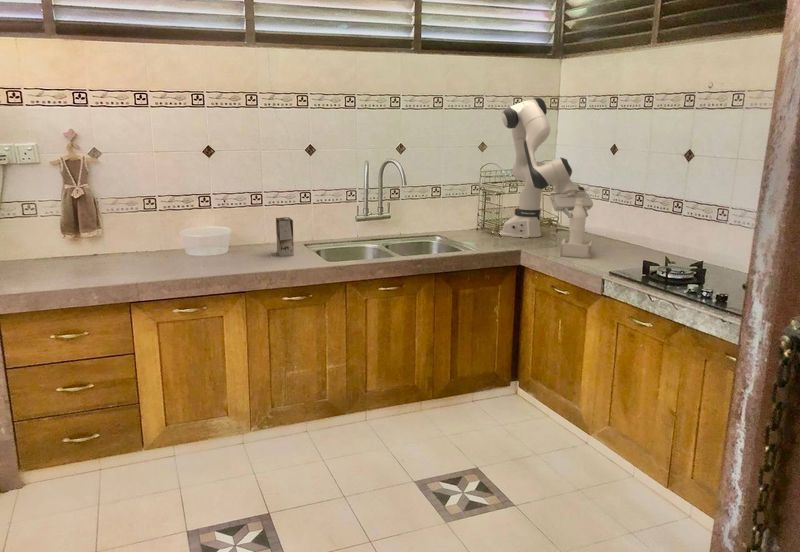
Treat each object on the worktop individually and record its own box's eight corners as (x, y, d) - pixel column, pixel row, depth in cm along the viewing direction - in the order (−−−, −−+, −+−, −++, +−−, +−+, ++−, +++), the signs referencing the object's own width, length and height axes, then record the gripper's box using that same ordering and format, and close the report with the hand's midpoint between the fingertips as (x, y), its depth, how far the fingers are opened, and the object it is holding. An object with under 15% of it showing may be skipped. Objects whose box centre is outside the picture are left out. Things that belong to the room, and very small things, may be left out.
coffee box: (294, 255, 288) (293, 220, 284) (280, 256, 286) (278, 220, 282) (290, 251, 296) (289, 216, 292) (276, 252, 294) (275, 217, 290)
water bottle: (583, 251, 298) (588, 197, 292) (582, 254, 292) (587, 199, 285) (567, 250, 300) (572, 196, 294) (566, 253, 294) (570, 198, 287)
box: (560, 256, 292) (561, 243, 291) (562, 250, 304) (563, 238, 303) (589, 258, 288) (590, 245, 287) (591, 253, 300) (592, 240, 299)
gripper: (551, 189, 291) (563, 213, 285) (588, 187, 299) (600, 211, 292) (545, 197, 296) (556, 222, 290) (581, 196, 304) (592, 219, 298)
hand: (578, 216), depth 291 cm, fingers closed on water bottle, 7 cm apart
